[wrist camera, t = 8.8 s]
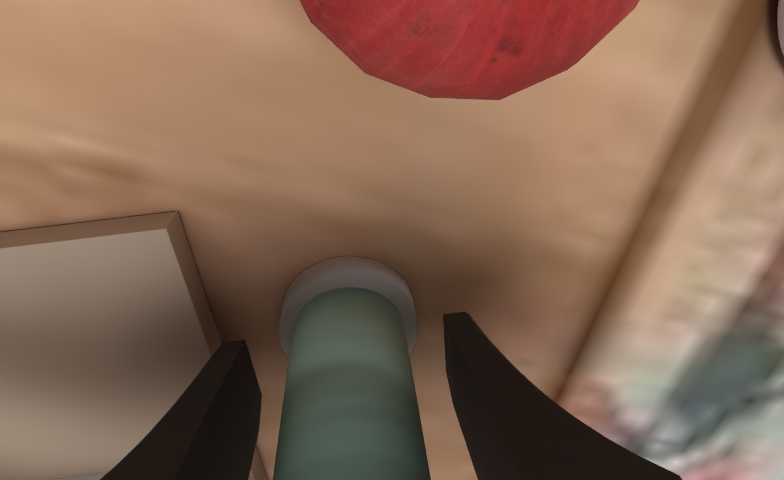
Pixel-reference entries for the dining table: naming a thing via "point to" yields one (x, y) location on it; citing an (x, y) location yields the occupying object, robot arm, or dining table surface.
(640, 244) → the dining table surface
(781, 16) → the spray bottle
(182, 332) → the board
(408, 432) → the teal round cylinder
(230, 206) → the dining table surface
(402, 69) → the red rounded piece
